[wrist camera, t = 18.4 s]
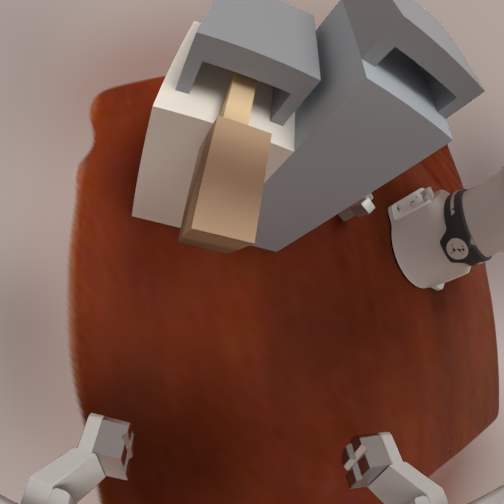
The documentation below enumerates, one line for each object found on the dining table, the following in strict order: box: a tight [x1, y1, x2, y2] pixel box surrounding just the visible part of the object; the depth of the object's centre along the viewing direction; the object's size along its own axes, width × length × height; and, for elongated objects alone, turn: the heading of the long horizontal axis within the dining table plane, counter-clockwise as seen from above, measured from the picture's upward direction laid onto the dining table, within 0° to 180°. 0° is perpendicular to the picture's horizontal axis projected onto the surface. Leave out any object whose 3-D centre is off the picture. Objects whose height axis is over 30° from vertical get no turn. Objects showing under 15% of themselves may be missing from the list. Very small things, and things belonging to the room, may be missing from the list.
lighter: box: [338, 193, 375, 222], centre depth 43 cm, size 7×2×8 cm, turn 136°
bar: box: [178, 71, 272, 254], centre depth 18 cm, size 17×3×4 cm, turn 174°
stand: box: [132, 0, 485, 252], centre depth 25 cm, size 12×18×30 cm, turn 84°
